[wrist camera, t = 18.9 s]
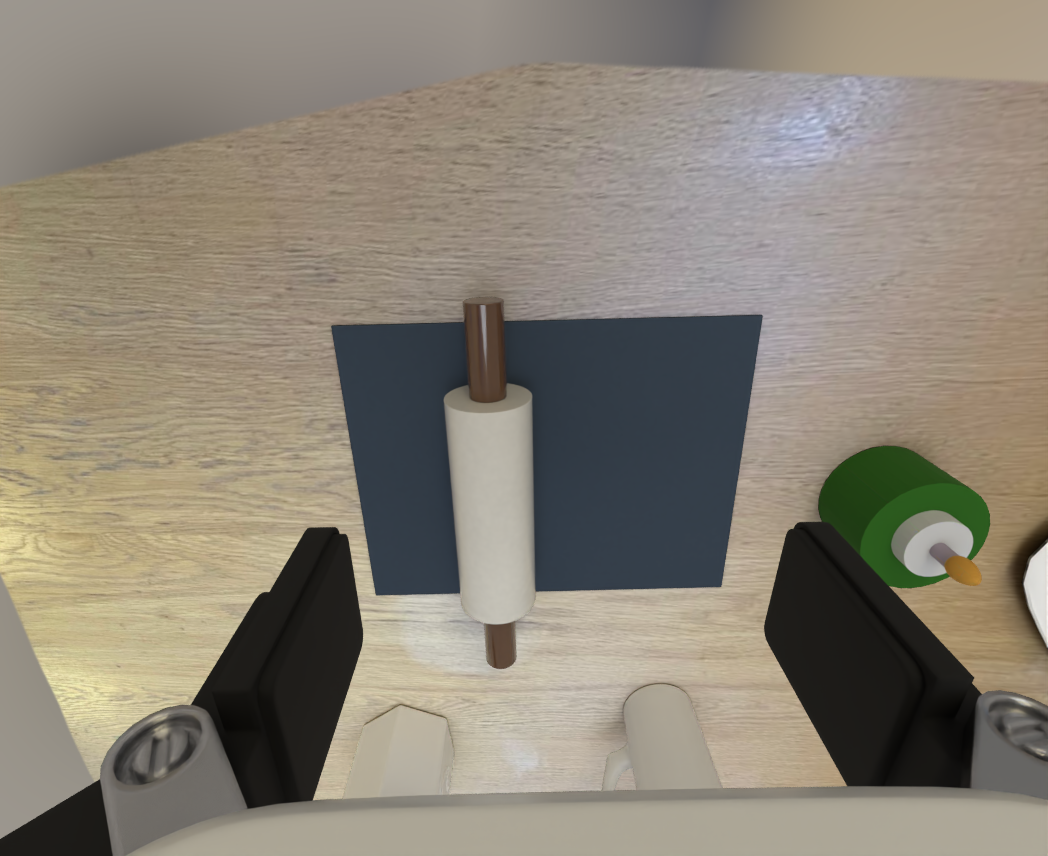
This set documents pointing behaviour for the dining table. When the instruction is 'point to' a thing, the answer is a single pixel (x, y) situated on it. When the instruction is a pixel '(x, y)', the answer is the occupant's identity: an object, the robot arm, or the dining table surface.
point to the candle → (906, 517)
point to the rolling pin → (492, 484)
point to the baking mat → (560, 446)
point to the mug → (662, 743)
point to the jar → (402, 756)
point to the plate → (1038, 589)
